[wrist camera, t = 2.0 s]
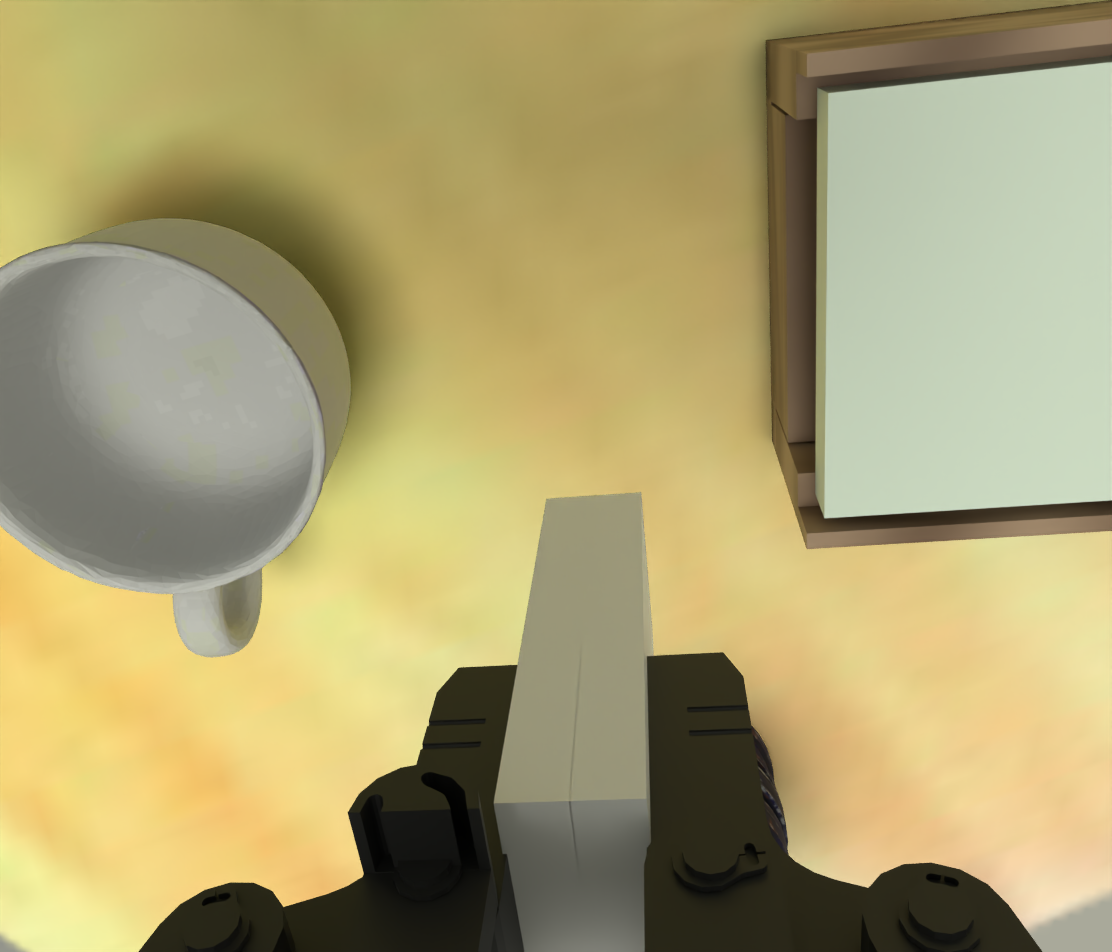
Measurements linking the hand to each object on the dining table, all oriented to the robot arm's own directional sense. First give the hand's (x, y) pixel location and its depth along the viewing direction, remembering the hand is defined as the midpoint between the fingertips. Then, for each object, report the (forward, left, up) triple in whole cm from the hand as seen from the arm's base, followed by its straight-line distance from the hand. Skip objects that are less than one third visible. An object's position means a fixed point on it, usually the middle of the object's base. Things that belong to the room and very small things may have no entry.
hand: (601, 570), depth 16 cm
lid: (0, +14, -13) cm, 19 cm away
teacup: (+3, -14, -19) cm, 24 cm away
